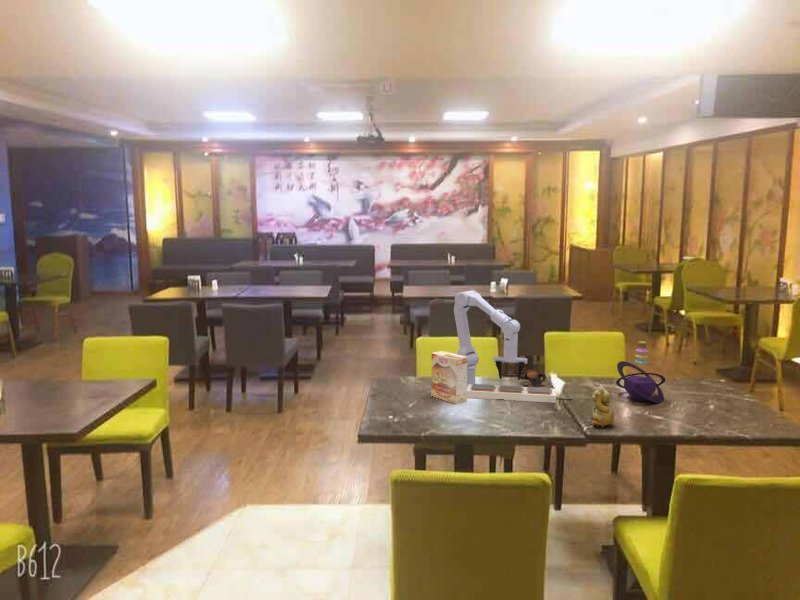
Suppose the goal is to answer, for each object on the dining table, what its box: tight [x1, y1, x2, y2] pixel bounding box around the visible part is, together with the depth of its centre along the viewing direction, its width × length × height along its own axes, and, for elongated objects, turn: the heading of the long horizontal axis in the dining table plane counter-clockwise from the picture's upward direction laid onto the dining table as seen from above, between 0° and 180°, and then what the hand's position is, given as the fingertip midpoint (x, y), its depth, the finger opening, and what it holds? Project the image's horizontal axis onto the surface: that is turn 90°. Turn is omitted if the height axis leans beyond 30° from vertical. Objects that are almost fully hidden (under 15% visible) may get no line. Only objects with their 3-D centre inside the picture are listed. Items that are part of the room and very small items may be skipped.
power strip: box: [467, 384, 573, 404], centre depth 277 cm, size 45×11×3 cm, turn 79°
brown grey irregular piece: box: [520, 369, 547, 387], centre depth 295 cm, size 12×10×8 cm
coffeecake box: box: [430, 350, 468, 405], centre depth 273 cm, size 15×7×20 cm, turn 42°
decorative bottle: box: [615, 340, 667, 404], centre depth 272 cm, size 22×21×25 cm
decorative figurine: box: [591, 383, 615, 428], centre depth 240 cm, size 10×8×15 cm
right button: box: [527, 386, 551, 395], centre depth 275 cm, size 9×7×2 cm
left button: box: [472, 383, 495, 392], centre depth 279 cm, size 9×7×2 cm
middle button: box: [499, 385, 523, 393], centre depth 277 cm, size 9×7×2 cm
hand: (509, 378), depth 278 cm, fingers open, 7 cm apart
